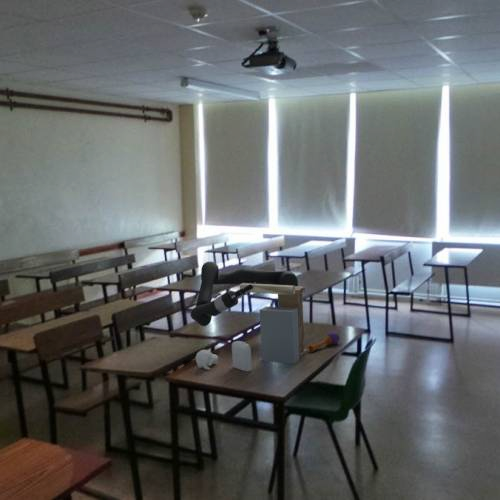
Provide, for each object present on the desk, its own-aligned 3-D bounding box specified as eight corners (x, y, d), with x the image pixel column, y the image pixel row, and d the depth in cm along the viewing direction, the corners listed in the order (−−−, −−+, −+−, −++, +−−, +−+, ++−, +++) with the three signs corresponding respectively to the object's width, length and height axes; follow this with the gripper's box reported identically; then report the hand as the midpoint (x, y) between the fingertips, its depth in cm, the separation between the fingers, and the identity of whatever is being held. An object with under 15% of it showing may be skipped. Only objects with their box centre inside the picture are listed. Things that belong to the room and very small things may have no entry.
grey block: (267, 356, 265) (265, 306, 261) (299, 359, 258) (297, 308, 255) (261, 360, 258) (259, 309, 255) (294, 364, 251) (292, 311, 248)
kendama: (305, 342, 270) (331, 330, 283) (307, 354, 270) (334, 342, 283) (314, 342, 265) (340, 330, 278) (316, 355, 266) (343, 342, 279)
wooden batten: (243, 290, 263) (242, 283, 263) (295, 293, 252) (294, 285, 252) (239, 291, 260) (239, 284, 260) (292, 294, 249) (292, 287, 249)
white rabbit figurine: (194, 350, 250) (211, 345, 260) (194, 369, 250) (211, 363, 260) (204, 352, 246) (221, 347, 256) (204, 371, 247) (221, 365, 256)
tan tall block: (276, 349, 274) (273, 285, 270) (307, 352, 267) (304, 286, 263) (269, 354, 267) (266, 288, 263) (301, 357, 260) (299, 290, 256)
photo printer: (231, 367, 251) (230, 340, 250) (238, 364, 254) (237, 338, 252) (245, 372, 243) (244, 345, 242) (253, 370, 246) (252, 343, 245)
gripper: (236, 305, 272) (264, 289, 264) (223, 311, 259) (251, 295, 252) (229, 291, 273) (256, 275, 265) (215, 297, 260) (243, 280, 252)
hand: (253, 285), depth 258 cm, fingers closed on wooden batten, 3 cm apart
